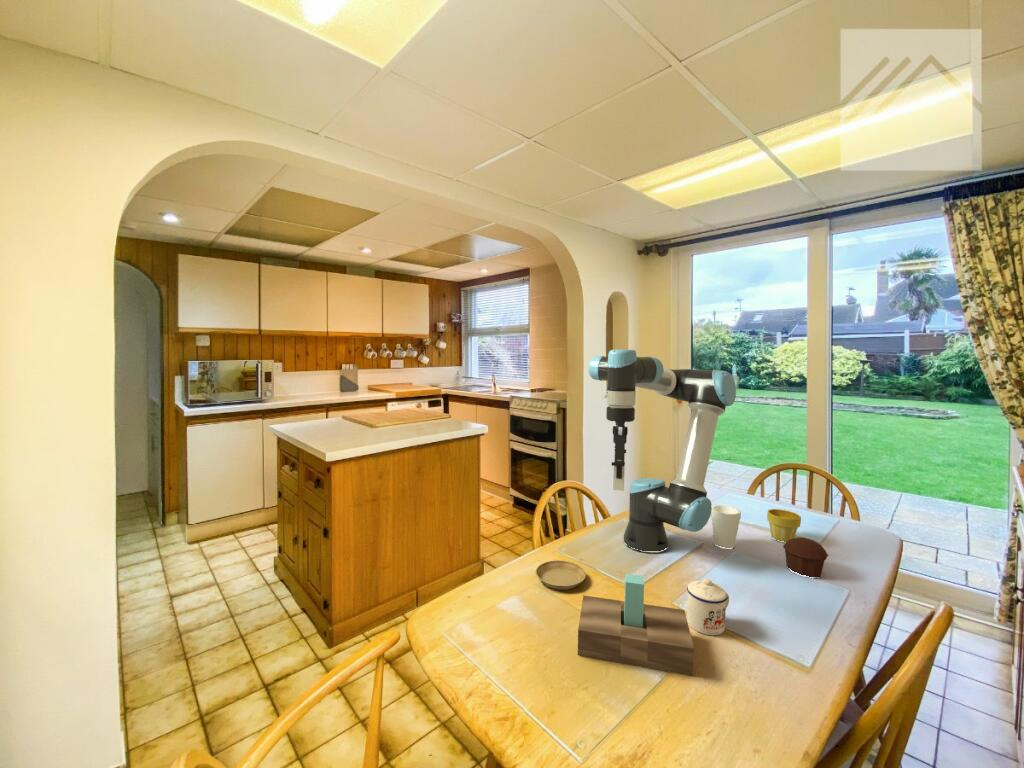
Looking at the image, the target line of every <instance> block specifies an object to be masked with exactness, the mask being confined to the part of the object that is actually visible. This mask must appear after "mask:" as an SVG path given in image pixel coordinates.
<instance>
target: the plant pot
mask: <svg viewBox="0 0 1024 768" xmlns="http://www.w3.org/2000/svg"><path fill="white" fill-rule="evenodd" d="M766 514H767V515H766V517H767V518H766V519H767V521H768V523H769V529H770V536H771V538H772V537H773V538H774V539H776V540H779V541H784V542H787V541H788V540H790V539H793V538H796V533H797V531H798V528H800V527H801V523H802V522H801V521H802V516H801V515H800V514H798V513H796V512H794V511H790V510H786V509H781V508H772V509H771V508H770V509H768V510H767V513H766ZM774 539H773V540H774Z"/></svg>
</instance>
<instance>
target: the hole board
mask: <svg viewBox="0 0 1024 768" xmlns="http://www.w3.org/2000/svg"><path fill="white" fill-rule="evenodd" d="M624 605H625V600H624V601H623V600H618V599H611V598H605V597H595V596H590V595H583V596H582V603H581V609H580V615H579V623H578V628H577V656H578V655H580V656H579V657H583V656H585V657H584V658H589V657H590V659H594V660H602V661H606V662H611V663H612V662H613V663H616V664H617V663H619V664H623V665H629V666H635V667H640V668H646V669H651V670H658V671H664V672H668V673H674V674H679V675H686V676H689V677H693V676H694V664H695V647H694V642H693V638H692V634H691V631H690V627H689V626H690V625H689V624H688V622H687V613H686V612H685V609H680V608H674V607H666V606H659V605H653V604H646V603H645V604H643V628H637V627H631V626H625V625H624Z"/></svg>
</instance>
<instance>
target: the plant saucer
mask: <svg viewBox="0 0 1024 768" xmlns="http://www.w3.org/2000/svg"><path fill="white" fill-rule="evenodd" d="M535 575H536V577H537V578H538V579H539V580H540V582H542V583H543V584H544V585H545V586H546V587H548V588H551V589H554V590H559V591H566V590H572V589H574V588H576V587H578V586H579V585H580V584H581V583H582V582H583V581H584V580H585V579H586V575H587V574H586V571H585V569H584V568H583V567H582V566H580V565H578V563H577V564H576V563H574V562H571V561H566V560H558V559H557V560H550V561H545V562H543V563H540V564H539V565H538V566H537V567H536V569H535Z"/></svg>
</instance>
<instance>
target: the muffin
mask: <svg viewBox="0 0 1024 768" xmlns="http://www.w3.org/2000/svg"><path fill="white" fill-rule="evenodd" d="M782 548H783V549H784V552H785V559H786V560H785V561H786V568H787V567H788V568H790V569H791V570H792V571H794V572H797V573H799V574H801V575H806V576H809V577H820V578H821V575H822V573H823V568H824V565H825V561H826V560H827V559H828V556H829V554H828V553H827V550H826V549H825V548H824V547H823V546H822V545H821V543H819V542H817V541H815V540H813V539H810V538H807V537H800V536H798V537H794V538H793V539H790V540H788V541H787V542H786V543H783V545H782ZM788 568H787V569H788Z"/></svg>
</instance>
